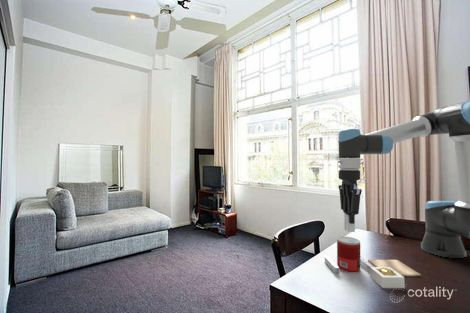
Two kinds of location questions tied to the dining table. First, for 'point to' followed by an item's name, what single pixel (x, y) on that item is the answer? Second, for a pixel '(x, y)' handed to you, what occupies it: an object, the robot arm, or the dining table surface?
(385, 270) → the plunger
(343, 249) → the canned food
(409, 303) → the dining table surface
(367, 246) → the dining table surface
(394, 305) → the dining table surface
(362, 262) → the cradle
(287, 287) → the dining table surface
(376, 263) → the mat
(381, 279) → the plunger block
